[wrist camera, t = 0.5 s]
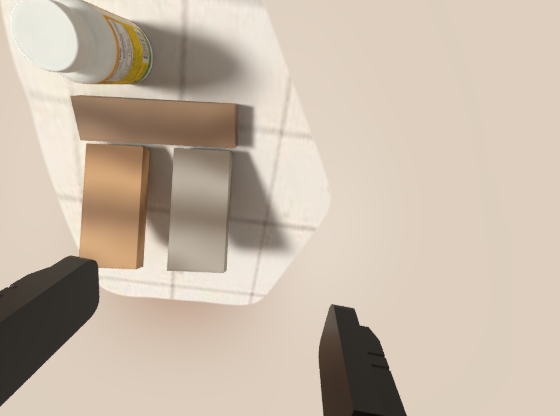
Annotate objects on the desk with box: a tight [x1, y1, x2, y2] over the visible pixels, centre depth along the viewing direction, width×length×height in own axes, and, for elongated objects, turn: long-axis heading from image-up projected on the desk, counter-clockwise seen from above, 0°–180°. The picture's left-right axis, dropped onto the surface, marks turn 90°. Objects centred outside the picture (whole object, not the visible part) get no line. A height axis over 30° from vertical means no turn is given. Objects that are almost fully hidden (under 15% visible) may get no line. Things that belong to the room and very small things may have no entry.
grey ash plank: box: [167, 148, 232, 273], centre depth 28 cm, size 12×6×2 cm, turn 177°
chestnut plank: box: [79, 144, 150, 269], centre depth 28 cm, size 12×6×2 cm, turn 177°
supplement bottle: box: [10, 0, 153, 84], centre depth 21 cm, size 5×5×10 cm
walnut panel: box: [71, 95, 237, 148], centre depth 27 cm, size 4×15×2 cm, turn 87°
